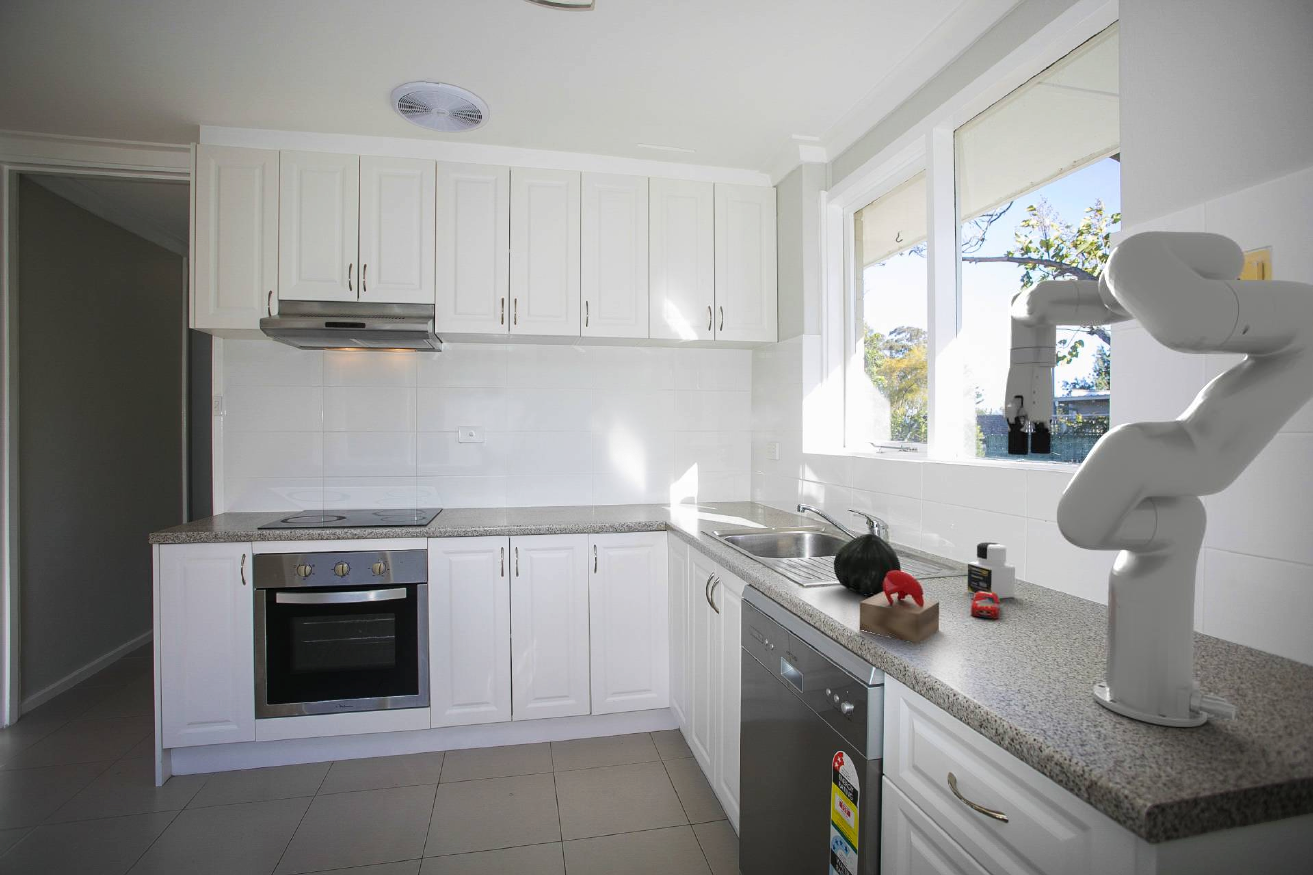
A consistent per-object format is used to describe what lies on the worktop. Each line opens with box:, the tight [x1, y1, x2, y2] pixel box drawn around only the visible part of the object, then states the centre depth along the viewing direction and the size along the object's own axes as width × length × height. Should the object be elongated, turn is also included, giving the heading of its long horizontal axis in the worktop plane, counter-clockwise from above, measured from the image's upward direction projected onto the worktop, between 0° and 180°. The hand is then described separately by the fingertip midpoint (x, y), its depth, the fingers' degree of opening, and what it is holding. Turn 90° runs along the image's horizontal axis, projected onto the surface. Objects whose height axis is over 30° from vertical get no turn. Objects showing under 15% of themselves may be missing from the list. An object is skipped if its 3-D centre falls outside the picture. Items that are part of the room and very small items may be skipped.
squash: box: [833, 533, 902, 597], centre depth 151 cm, size 14×15×15 cm
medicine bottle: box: [967, 541, 1016, 600], centre depth 149 cm, size 7×7×12 cm
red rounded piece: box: [883, 570, 924, 607], centre depth 122 cm, size 8×6×6 cm
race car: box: [970, 591, 1001, 620], centre depth 136 cm, size 13×5×4 cm, turn 149°
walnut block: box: [859, 592, 940, 644], centre depth 122 cm, size 11×11×6 cm
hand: (1029, 454), depth 116 cm, fingers open, 9 cm apart
